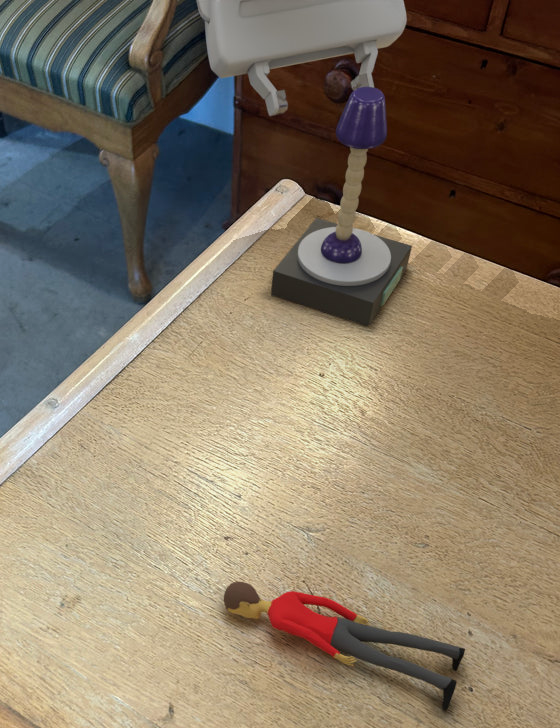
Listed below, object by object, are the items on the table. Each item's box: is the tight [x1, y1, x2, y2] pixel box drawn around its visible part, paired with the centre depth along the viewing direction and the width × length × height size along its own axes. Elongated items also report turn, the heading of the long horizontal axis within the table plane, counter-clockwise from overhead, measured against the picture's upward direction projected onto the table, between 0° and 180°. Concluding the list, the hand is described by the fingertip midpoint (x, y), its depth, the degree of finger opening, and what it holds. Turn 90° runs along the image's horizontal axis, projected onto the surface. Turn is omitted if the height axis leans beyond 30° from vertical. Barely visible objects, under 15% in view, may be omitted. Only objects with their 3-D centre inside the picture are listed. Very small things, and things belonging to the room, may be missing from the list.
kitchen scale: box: [270, 217, 413, 327], centre depth 94 cm, size 11×11×4 cm
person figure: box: [223, 581, 466, 712], centre depth 67 cm, size 5×4×18 cm
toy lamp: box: [321, 87, 388, 263], centre depth 86 cm, size 5×5×17 cm
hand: (322, 104), depth 89 cm, fingers open, 8 cm apart
